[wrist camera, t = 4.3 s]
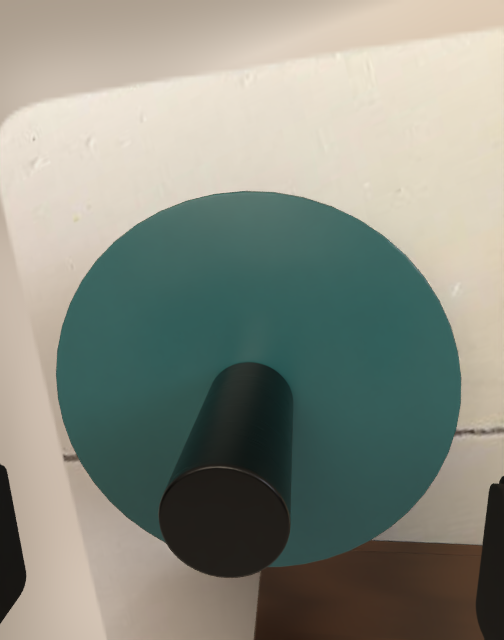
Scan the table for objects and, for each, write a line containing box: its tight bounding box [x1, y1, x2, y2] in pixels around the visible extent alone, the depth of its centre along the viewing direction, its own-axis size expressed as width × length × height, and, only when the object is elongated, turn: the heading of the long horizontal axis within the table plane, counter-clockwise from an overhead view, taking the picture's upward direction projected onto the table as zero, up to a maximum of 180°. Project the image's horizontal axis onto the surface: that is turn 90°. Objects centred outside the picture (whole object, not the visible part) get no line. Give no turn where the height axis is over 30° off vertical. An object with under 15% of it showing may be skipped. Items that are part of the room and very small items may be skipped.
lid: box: [56, 191, 461, 578], centre depth 12 cm, size 12×12×7 cm
